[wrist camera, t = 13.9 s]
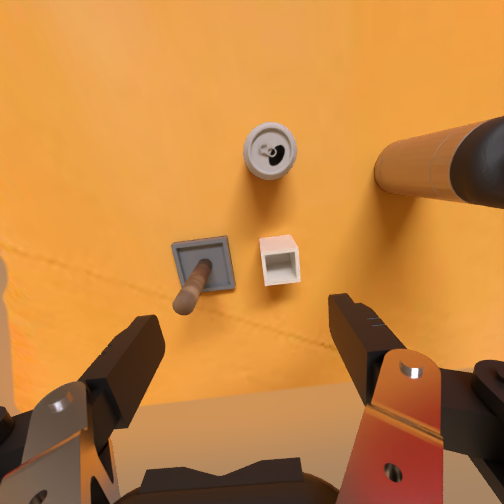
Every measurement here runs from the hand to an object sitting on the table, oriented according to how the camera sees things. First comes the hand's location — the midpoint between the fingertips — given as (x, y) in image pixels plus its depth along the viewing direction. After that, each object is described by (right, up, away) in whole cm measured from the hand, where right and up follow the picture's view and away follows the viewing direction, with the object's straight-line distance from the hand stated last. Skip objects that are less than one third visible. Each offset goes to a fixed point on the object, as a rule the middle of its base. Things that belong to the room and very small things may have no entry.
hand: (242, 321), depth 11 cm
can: (+3, +20, +31) cm, 38 cm away
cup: (+5, +3, +37) cm, 37 cm away
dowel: (-9, 0, +37) cm, 38 cm away
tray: (-9, +1, +38) cm, 39 cm away
